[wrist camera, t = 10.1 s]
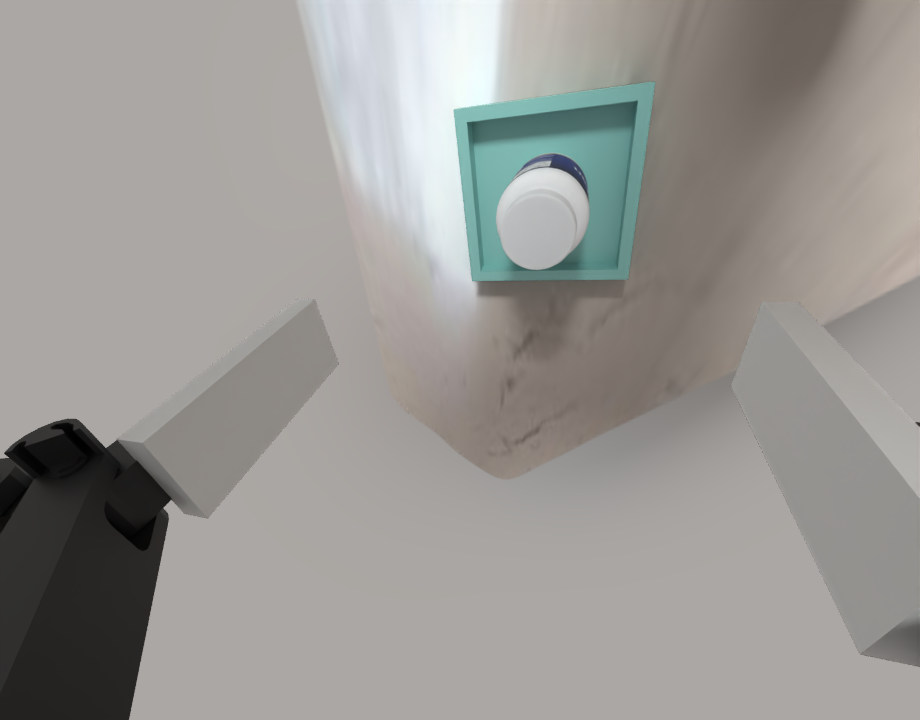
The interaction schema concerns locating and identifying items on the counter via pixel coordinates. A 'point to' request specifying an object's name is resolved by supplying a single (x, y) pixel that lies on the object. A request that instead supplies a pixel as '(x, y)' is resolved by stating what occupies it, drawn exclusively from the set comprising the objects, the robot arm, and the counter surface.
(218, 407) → the robot arm
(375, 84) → the counter surface
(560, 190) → the pill bottle
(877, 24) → the counter surface
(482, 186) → the tray
